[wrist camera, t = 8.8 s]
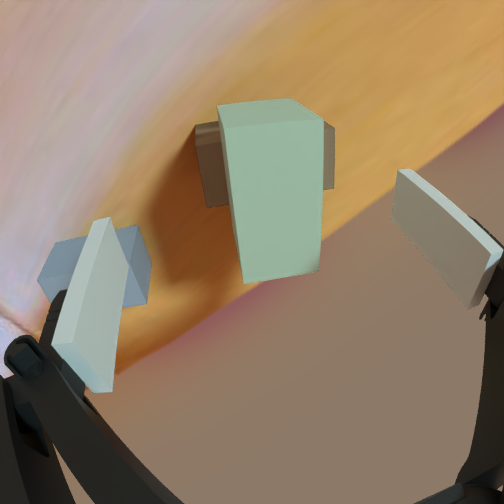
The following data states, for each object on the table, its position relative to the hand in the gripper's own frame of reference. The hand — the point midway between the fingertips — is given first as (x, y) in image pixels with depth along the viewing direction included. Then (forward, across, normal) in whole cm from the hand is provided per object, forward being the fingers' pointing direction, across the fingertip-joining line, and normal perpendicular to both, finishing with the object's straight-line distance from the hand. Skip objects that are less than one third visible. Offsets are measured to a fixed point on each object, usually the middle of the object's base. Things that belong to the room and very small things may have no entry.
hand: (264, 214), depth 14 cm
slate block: (+11, -12, -7) cm, 18 cm away
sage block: (+5, +1, 0) cm, 5 cm away
